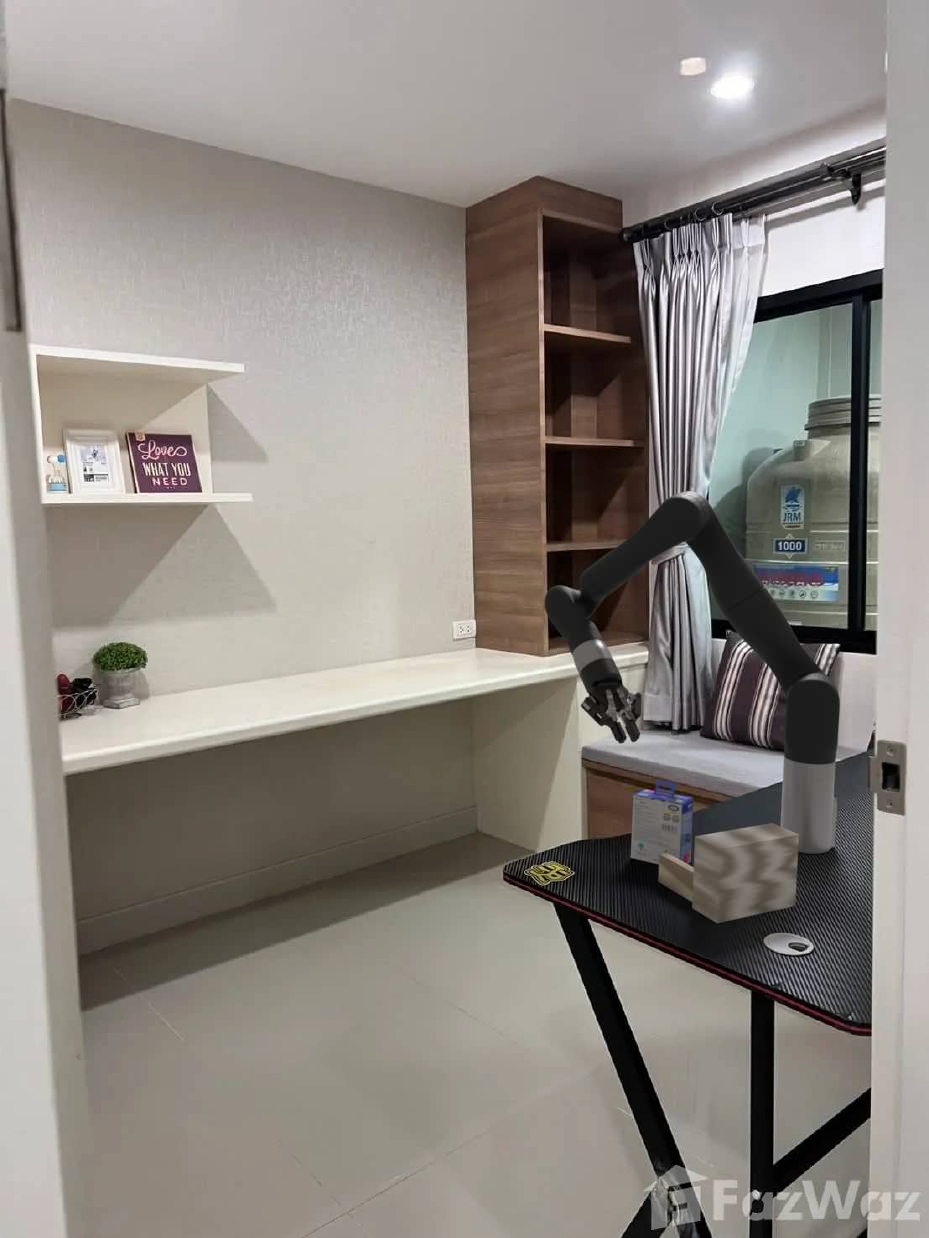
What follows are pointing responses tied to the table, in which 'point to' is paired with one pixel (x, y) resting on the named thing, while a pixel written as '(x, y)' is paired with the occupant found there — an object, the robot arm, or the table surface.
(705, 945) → the table surface
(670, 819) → the ink cartridge box
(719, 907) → the cartridge dock
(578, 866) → the table surface
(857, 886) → the table surface
